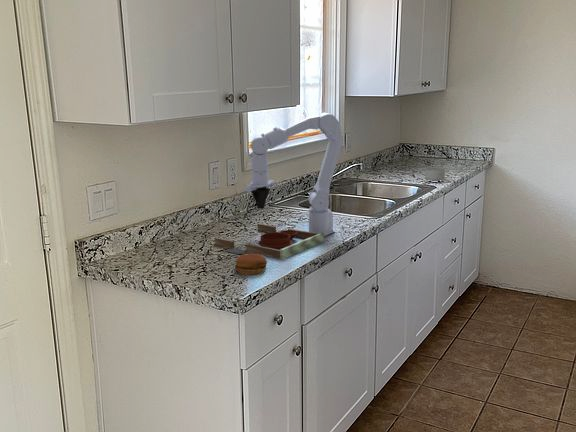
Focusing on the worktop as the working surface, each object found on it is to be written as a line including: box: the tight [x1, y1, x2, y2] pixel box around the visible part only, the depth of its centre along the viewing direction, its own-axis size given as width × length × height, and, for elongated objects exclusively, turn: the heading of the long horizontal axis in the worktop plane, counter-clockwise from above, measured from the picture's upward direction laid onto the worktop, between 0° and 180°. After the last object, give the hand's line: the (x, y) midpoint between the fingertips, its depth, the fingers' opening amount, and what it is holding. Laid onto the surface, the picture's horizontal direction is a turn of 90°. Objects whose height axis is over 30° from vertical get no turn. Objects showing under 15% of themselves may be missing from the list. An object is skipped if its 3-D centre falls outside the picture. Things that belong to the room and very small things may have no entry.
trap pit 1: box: [224, 247, 247, 256], centre depth 190 cm, size 4×6×1 cm, turn 55°
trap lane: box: [214, 223, 325, 260], centre depth 199 cm, size 25×29×3 cm
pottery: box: [257, 229, 298, 250], centre depth 197 cm, size 12×20×4 cm, turn 156°
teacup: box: [424, 166, 446, 181], centre depth 317 cm, size 14×11×8 cm
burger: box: [234, 252, 268, 276], centre depth 171 cm, size 10×9×5 cm
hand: (260, 208), depth 207 cm, fingers closed
